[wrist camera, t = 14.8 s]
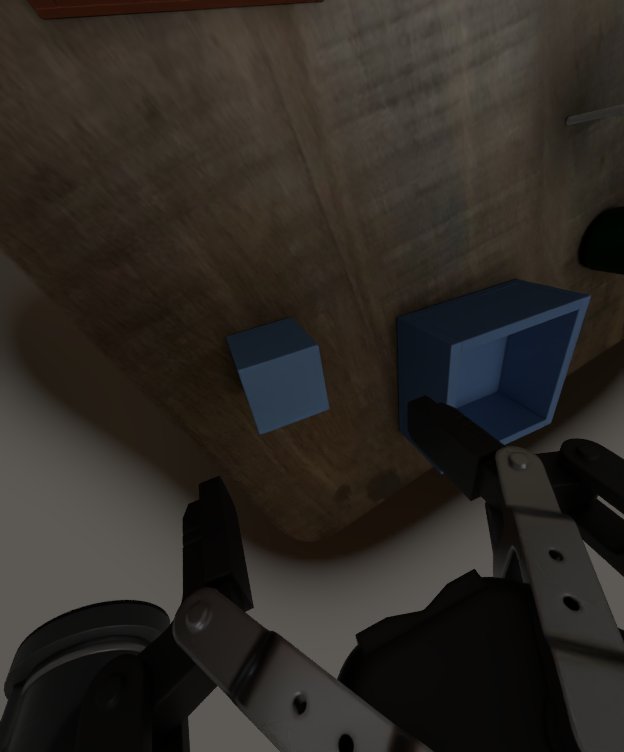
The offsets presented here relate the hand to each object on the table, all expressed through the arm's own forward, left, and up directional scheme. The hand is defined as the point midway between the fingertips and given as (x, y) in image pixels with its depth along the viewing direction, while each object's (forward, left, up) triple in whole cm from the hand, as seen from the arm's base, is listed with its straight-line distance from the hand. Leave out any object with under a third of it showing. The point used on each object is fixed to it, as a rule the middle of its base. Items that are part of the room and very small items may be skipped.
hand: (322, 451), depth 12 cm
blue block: (0, 0, -10) cm, 10 cm away
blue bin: (+16, -6, -10) cm, 20 cm away
